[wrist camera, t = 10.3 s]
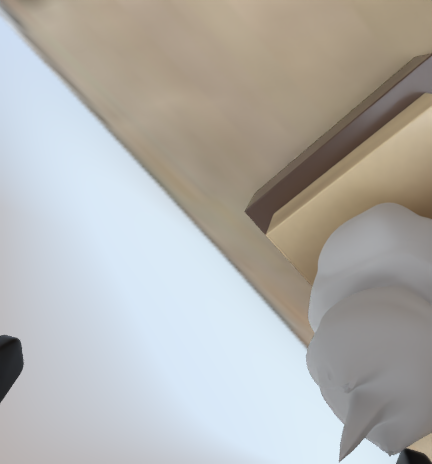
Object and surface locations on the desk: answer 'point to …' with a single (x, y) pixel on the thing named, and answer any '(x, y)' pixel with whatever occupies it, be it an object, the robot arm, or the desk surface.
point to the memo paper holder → (354, 169)
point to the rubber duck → (375, 328)
